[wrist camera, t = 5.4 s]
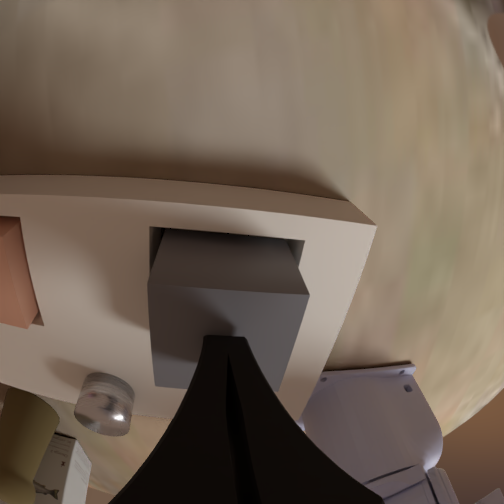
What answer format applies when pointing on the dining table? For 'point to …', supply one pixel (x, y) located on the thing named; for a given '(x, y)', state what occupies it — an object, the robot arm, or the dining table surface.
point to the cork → (23, 443)
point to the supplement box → (62, 473)
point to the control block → (139, 268)
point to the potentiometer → (105, 404)
